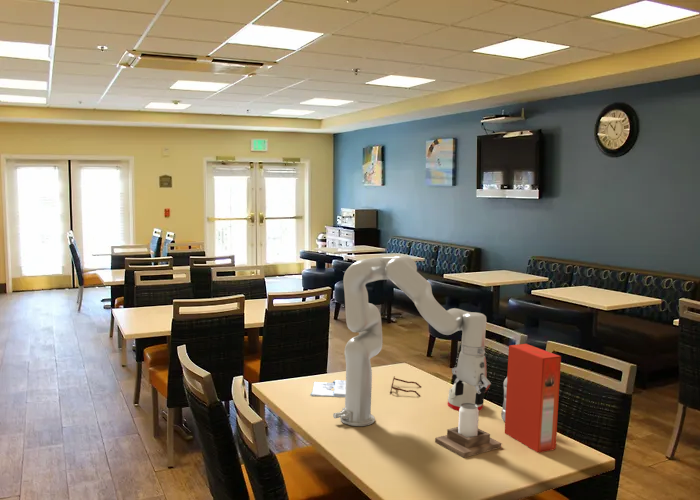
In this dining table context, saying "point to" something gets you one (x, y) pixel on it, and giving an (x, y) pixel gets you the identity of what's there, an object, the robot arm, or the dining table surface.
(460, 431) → the can
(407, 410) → the dining table surface
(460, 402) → the kitchen timer
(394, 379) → the glasses
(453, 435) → the caddy
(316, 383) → the open book
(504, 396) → the plastic bottle
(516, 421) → the file binder
